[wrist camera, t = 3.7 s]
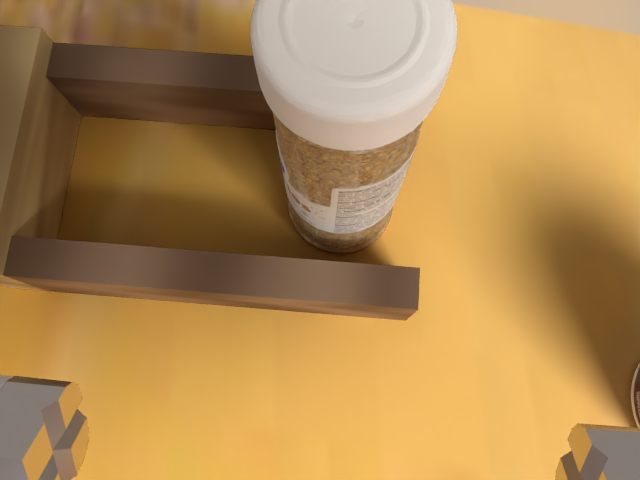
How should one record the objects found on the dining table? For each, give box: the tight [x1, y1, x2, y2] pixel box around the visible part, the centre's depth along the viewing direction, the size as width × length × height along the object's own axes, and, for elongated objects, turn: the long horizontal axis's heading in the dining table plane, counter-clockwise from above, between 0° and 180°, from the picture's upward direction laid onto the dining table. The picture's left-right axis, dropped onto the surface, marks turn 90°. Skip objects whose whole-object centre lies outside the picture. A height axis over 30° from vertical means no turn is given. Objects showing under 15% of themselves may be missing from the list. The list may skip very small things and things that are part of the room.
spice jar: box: [251, 0, 457, 253], centre depth 19 cm, size 5×5×13 cm
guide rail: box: [0, 25, 420, 320], centre depth 24 cm, size 17×10×4 cm, turn 85°
